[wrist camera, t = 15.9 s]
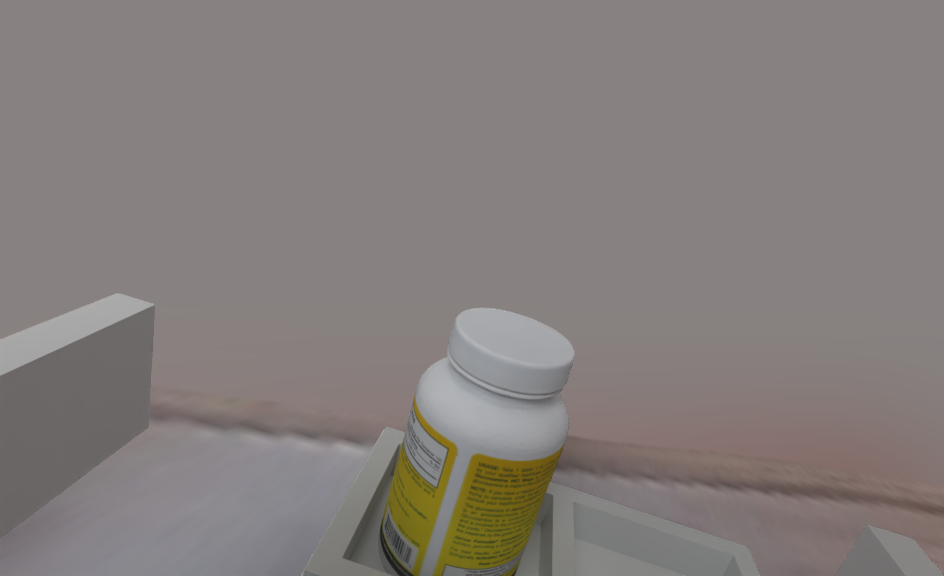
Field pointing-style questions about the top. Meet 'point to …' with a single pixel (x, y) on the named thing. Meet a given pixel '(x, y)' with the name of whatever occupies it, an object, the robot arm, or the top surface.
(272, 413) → the top surface
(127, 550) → the top surface
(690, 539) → the socket board
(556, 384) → the pill bottle
